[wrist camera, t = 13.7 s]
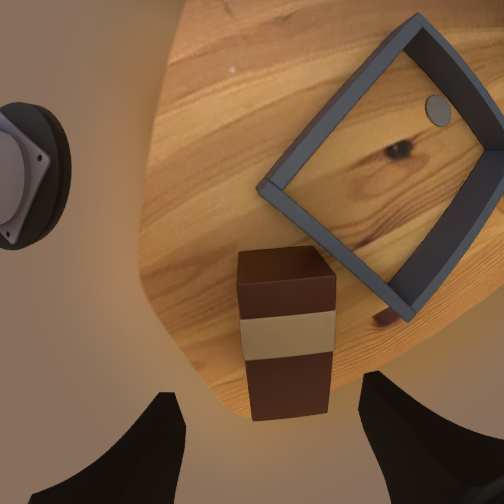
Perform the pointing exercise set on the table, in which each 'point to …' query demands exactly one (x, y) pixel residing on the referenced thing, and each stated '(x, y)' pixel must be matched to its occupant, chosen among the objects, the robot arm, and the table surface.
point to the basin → (438, 111)
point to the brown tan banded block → (287, 330)
